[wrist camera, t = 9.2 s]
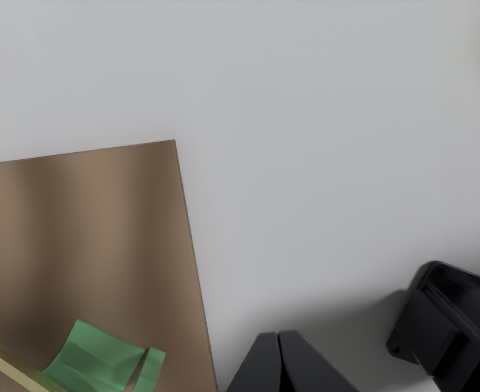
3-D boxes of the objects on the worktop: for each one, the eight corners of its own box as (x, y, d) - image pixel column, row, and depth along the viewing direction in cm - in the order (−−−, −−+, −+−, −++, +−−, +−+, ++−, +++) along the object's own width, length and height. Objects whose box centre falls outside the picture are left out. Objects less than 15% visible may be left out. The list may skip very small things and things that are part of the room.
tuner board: (174, 139, 20) (161, 147, 17) (223, 419, 25) (219, 466, 22) (-126, 178, 21) (-193, 193, 18) (-24, 443, 26) (-62, 493, 22)
